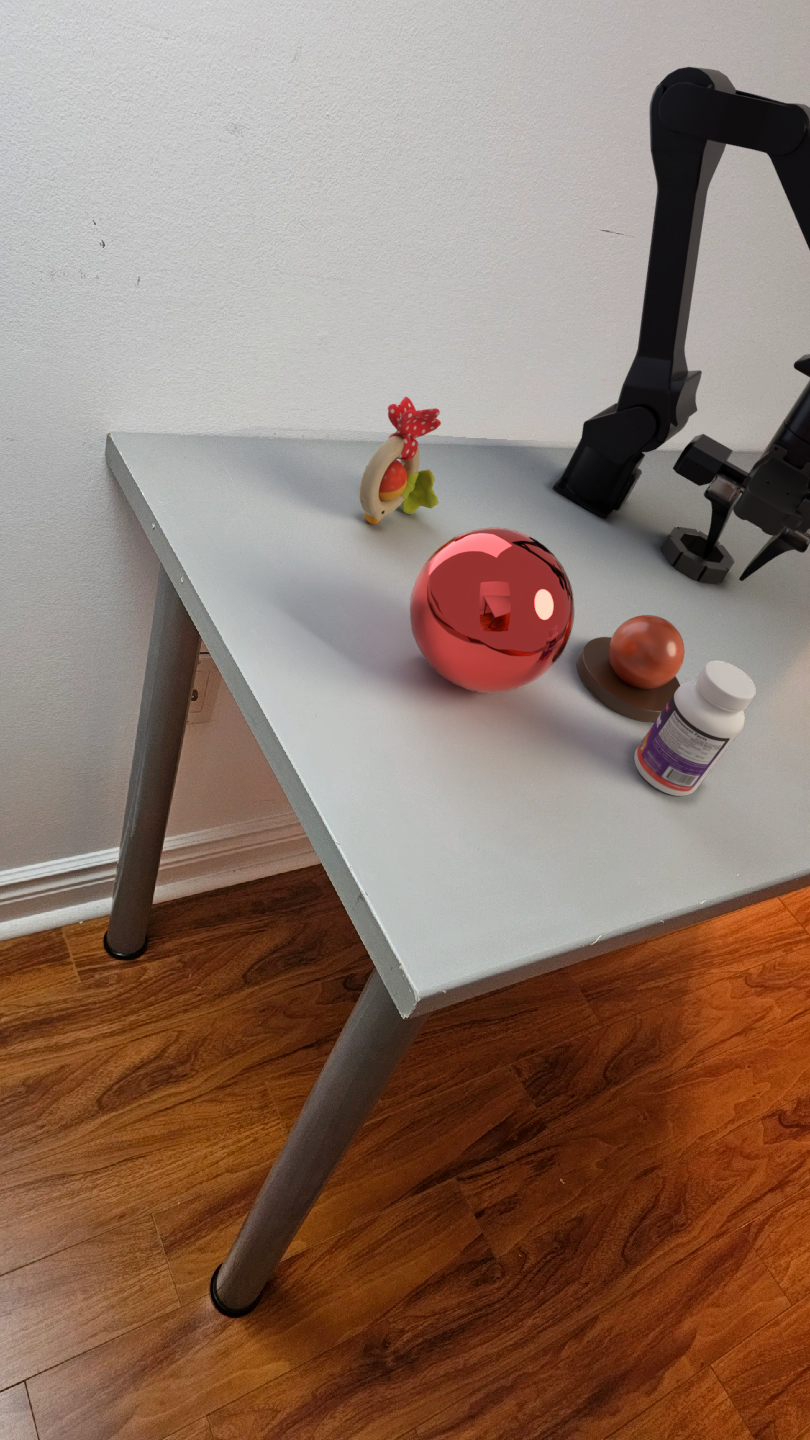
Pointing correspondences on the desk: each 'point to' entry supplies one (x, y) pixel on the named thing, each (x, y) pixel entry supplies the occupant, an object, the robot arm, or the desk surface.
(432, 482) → the bird rattle
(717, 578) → the black ring
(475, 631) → the ball
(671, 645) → the ball stand
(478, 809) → the desk surface
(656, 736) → the pill bottle
